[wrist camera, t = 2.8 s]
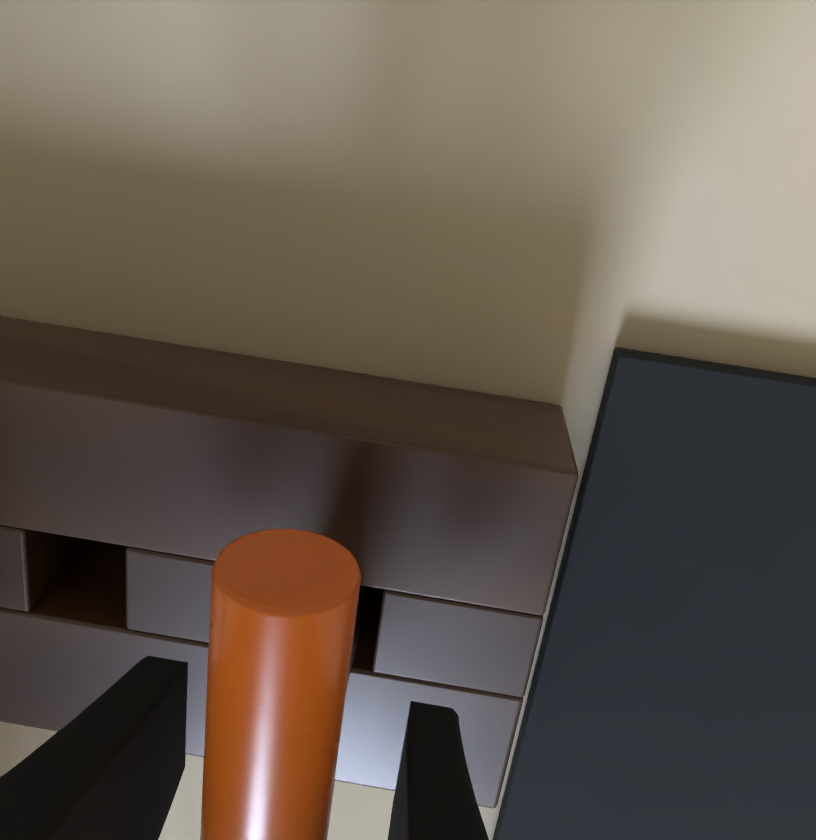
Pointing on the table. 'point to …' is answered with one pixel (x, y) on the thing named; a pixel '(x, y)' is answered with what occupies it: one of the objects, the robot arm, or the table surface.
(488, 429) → the rack
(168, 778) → the robot arm
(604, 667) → the mat
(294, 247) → the table surface
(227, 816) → the t handle
